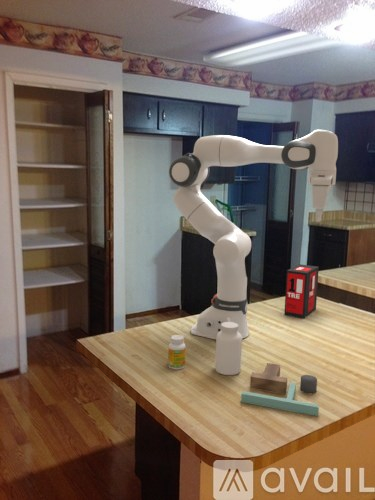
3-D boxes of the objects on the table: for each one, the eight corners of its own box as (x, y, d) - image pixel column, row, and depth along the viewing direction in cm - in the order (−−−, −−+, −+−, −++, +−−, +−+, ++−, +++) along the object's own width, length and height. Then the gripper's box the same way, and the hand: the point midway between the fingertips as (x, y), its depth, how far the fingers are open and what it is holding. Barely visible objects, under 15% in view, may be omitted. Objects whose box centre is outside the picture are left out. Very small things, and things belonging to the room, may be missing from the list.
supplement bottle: (172, 371, 136) (173, 341, 135) (165, 364, 141) (165, 335, 139) (188, 367, 139) (188, 338, 137) (180, 361, 143) (180, 333, 142)
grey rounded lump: (299, 392, 124) (300, 380, 124) (300, 385, 129) (301, 373, 128) (315, 394, 123) (316, 383, 122) (316, 387, 127) (317, 376, 127)
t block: (250, 388, 126) (250, 376, 126) (256, 372, 136) (257, 361, 136) (285, 394, 123) (286, 382, 122) (289, 377, 133) (290, 366, 133)
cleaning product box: (297, 305, 207) (299, 264, 203) (315, 309, 202) (318, 266, 198) (284, 314, 193) (286, 270, 190) (304, 318, 188) (307, 273, 185)
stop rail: (240, 401, 118) (241, 393, 118) (249, 383, 129) (249, 375, 129) (318, 416, 112) (318, 407, 111) (320, 395, 123) (320, 387, 122)
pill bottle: (233, 378, 132) (235, 330, 129) (210, 371, 136) (211, 325, 134) (245, 368, 139) (246, 323, 136) (222, 362, 143) (223, 318, 140)
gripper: (313, 179, 159) (311, 217, 161) (310, 179, 140) (307, 222, 142) (332, 179, 157) (329, 218, 159) (331, 179, 138) (327, 223, 140)
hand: (318, 220), depth 150 cm, fingers open, 8 cm apart
